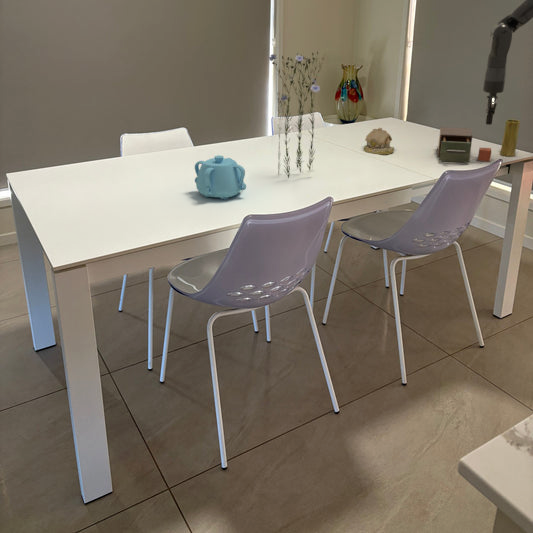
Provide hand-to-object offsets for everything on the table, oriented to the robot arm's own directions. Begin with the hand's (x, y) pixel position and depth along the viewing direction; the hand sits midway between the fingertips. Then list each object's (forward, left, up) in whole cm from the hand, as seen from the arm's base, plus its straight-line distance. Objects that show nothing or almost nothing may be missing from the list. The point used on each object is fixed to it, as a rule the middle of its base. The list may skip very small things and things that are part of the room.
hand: (488, 124), depth 236 cm
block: (-1, -1, -15) cm, 15 cm away
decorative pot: (+112, +12, -15) cm, 114 cm away
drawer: (+12, -3, -14) cm, 19 cm away
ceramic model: (+34, -27, -15) cm, 46 cm away
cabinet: (+6, -13, -15) cm, 20 cm away
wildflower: (+80, -2, -15) cm, 82 cm away
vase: (-15, -5, -15) cm, 21 cm away
